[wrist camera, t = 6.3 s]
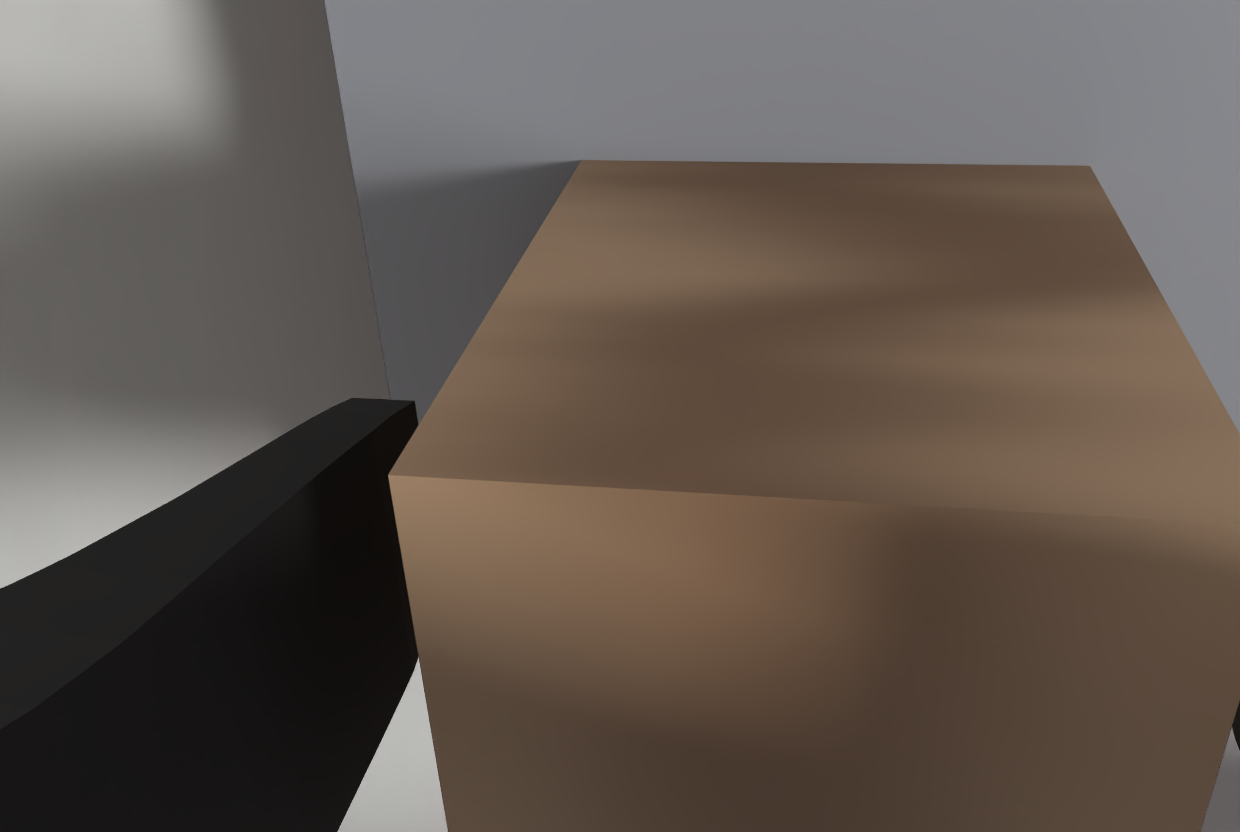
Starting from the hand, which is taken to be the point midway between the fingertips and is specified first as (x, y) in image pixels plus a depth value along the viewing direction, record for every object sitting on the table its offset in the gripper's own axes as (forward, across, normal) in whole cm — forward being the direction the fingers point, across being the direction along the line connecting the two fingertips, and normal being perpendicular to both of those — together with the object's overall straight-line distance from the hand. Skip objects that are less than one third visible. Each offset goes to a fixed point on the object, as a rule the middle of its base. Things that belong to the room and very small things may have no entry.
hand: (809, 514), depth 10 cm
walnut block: (+3, 0, 0) cm, 3 cm away
